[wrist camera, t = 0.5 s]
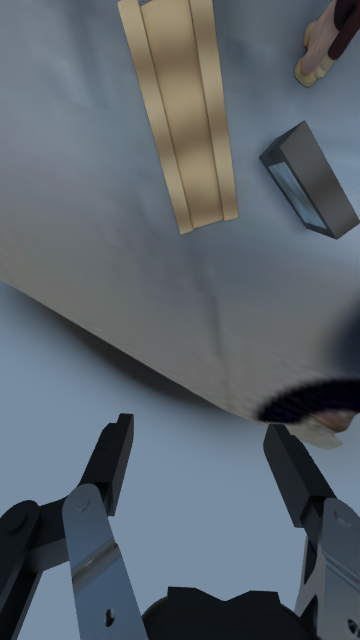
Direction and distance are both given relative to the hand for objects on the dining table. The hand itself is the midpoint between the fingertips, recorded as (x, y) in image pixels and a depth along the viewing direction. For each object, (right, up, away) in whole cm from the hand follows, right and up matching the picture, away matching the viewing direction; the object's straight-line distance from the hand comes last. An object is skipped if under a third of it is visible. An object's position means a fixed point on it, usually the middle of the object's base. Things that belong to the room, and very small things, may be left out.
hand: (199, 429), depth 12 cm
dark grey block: (+14, +25, +15) cm, 32 cm away
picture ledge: (0, +29, +13) cm, 32 cm away
